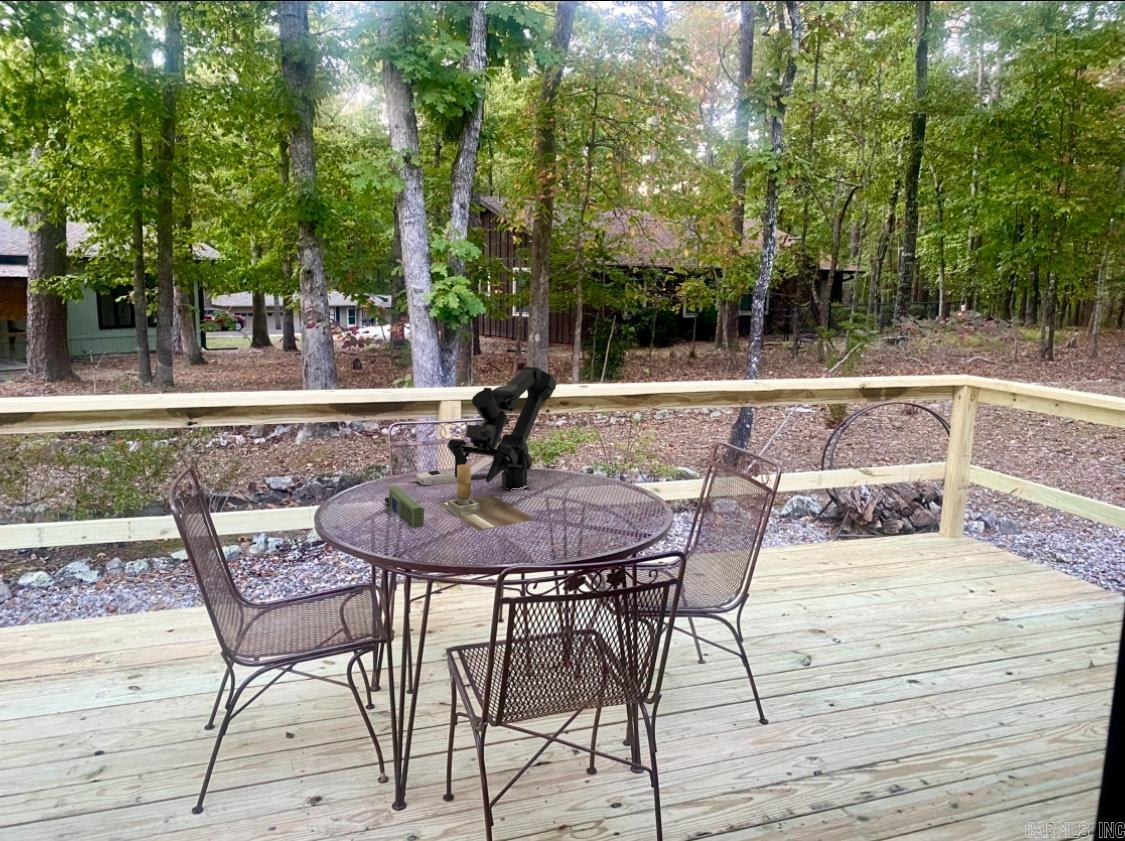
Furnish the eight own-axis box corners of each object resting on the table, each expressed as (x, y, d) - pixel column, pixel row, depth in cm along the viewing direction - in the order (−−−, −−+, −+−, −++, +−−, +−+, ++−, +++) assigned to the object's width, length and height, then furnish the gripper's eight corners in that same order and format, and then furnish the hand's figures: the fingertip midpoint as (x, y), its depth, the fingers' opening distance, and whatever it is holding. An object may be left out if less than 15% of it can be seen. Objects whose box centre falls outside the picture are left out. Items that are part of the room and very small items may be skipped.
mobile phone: (495, 460, 222) (414, 468, 210) (495, 479, 223) (414, 488, 211) (488, 456, 227) (408, 463, 216) (488, 474, 228) (409, 482, 217)
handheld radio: (411, 534, 176) (380, 504, 196) (424, 533, 177) (392, 503, 198) (412, 508, 174) (380, 480, 195) (425, 506, 176) (392, 479, 197)
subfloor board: (491, 499, 202) (491, 486, 201) (535, 524, 184) (535, 509, 183) (438, 509, 193) (438, 494, 193) (478, 536, 175) (478, 520, 174)
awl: (469, 508, 189) (469, 464, 187) (471, 513, 186) (471, 467, 184) (456, 509, 189) (456, 464, 186) (457, 513, 185) (458, 468, 183)
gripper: (450, 408, 194) (427, 458, 186) (513, 416, 187) (492, 468, 179) (465, 431, 203) (444, 480, 195) (526, 439, 196) (507, 490, 188)
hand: (471, 479), depth 189 cm, fingers open, 9 cm apart
